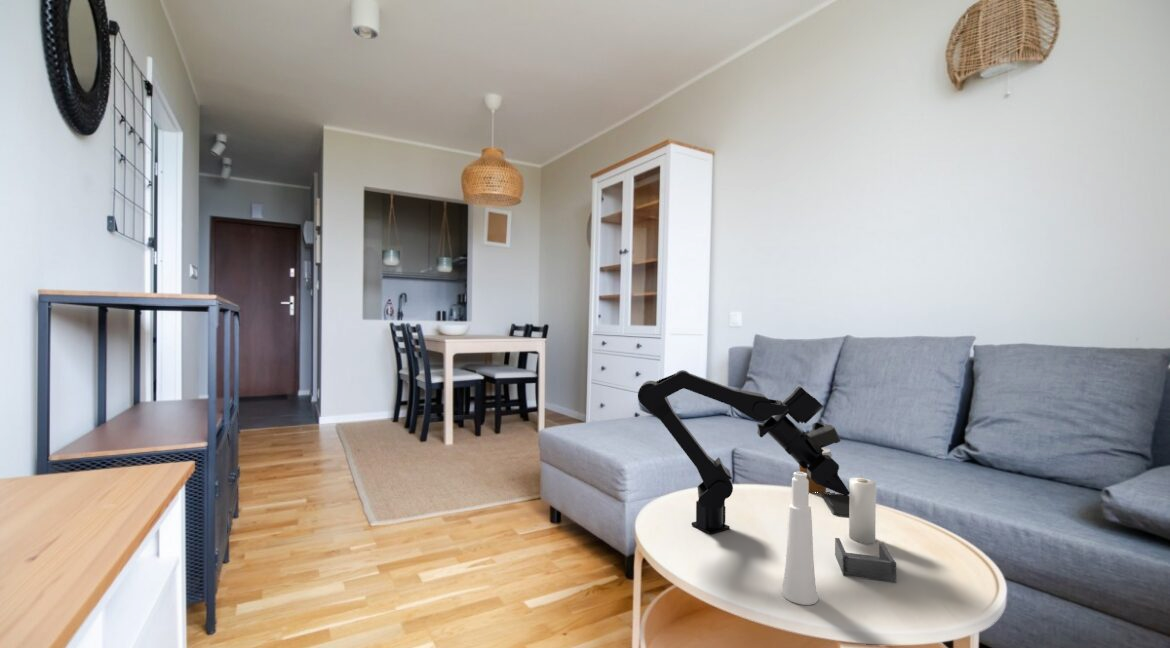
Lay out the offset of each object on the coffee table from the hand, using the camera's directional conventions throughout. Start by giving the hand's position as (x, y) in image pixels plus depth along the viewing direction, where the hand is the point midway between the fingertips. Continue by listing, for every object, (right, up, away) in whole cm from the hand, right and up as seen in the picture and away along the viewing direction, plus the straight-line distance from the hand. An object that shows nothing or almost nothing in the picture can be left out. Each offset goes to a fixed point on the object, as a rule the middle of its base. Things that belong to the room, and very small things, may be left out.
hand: (841, 487), depth 115 cm
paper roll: (+4, -11, -1) cm, 12 cm away
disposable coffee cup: (+8, -11, +32) cm, 35 cm away
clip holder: (-3, -11, -14) cm, 18 cm away
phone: (+10, -12, +19) cm, 25 cm away
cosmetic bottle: (-20, -12, -25) cm, 34 cm away
